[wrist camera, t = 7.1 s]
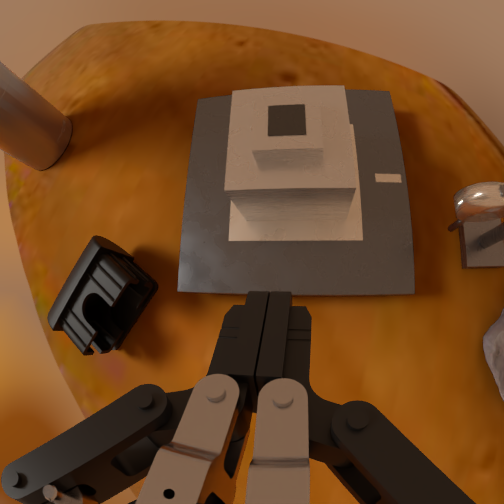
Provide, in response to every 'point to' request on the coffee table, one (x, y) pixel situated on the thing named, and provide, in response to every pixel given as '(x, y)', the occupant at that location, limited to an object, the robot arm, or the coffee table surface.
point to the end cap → (101, 298)
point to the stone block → (496, 351)
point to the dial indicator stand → (480, 224)
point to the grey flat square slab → (300, 231)
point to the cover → (290, 154)
